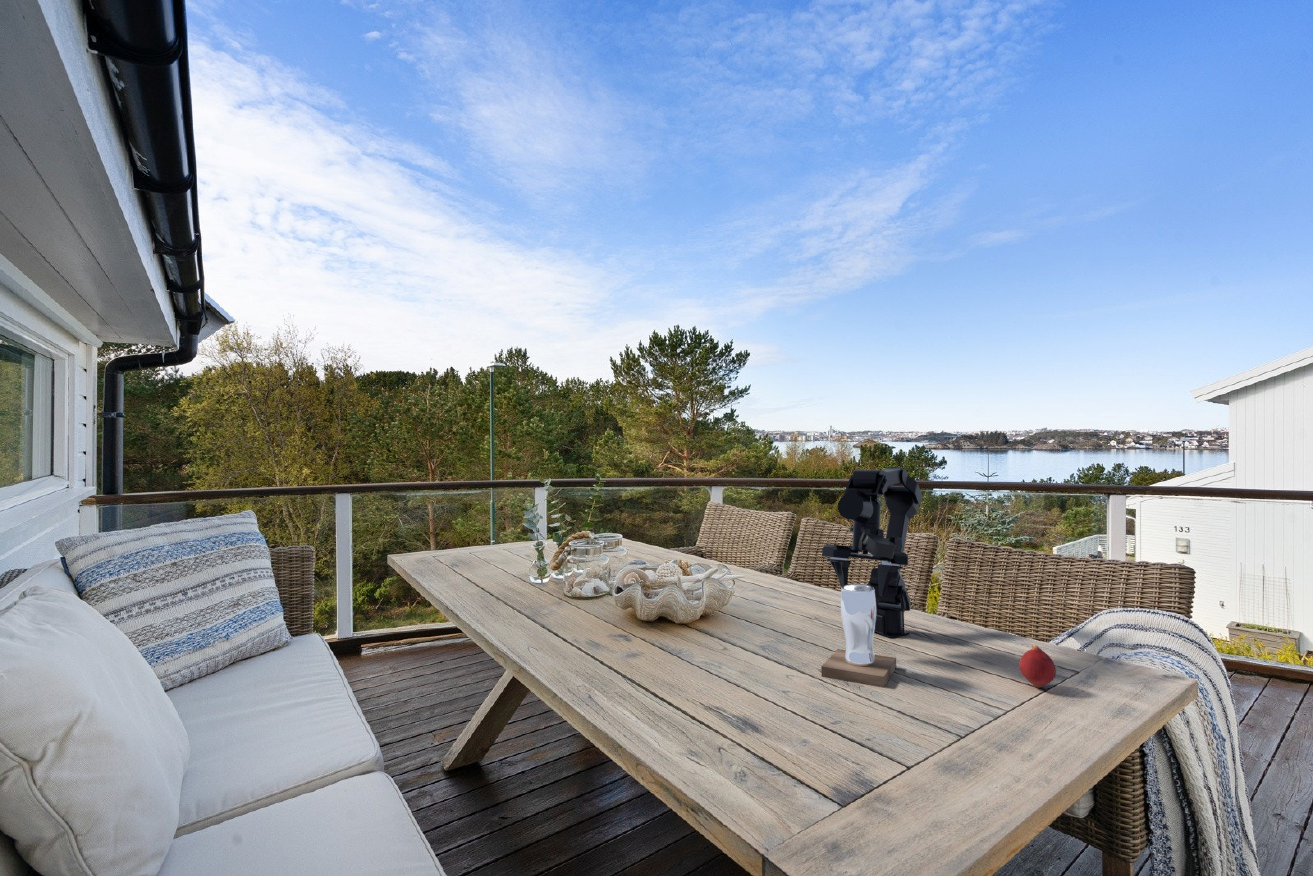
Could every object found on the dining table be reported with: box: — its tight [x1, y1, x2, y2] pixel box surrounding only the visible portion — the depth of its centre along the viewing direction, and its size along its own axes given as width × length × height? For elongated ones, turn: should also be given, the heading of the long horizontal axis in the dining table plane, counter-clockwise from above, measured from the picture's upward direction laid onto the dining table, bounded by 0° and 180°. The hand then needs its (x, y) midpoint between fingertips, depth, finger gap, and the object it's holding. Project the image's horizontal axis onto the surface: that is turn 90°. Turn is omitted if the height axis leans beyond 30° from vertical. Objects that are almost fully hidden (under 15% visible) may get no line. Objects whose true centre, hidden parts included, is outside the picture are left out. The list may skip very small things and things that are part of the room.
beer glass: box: [840, 583, 876, 666], centre depth 127 cm, size 7×7×15 cm
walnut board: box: [821, 648, 897, 688], centre depth 126 cm, size 12×12×2 cm
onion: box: [1018, 644, 1057, 689], centre depth 116 cm, size 6×6×8 cm
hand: (863, 594), depth 139 cm, fingers open, 9 cm apart
